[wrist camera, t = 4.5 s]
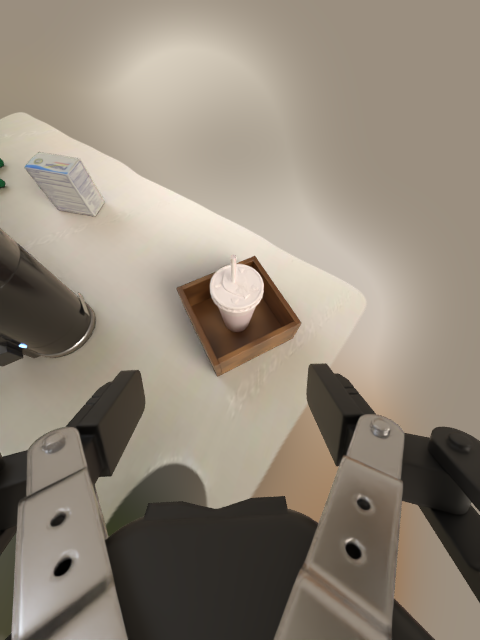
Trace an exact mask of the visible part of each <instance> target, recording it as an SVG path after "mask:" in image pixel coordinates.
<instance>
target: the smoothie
mask: <svg viewBox="0 0 480 640" xmlns="http://www.w3.org/2000/svg"><path fill="white" fill-rule="evenodd" d="M263 293H264V283H263V279H262V277H261V276H260V274H259V273H258V272H257V271H256V270H255V269H253V268H252V267H250V266H247V265H244V264H236V255H231V264H230V265H226V266H224V267H222V268H220V269H219V270H218V271H216V272H215V274H214V275H213V277H212V278H211V281H210V294H211V298H212V300H213V301H214V303H215V304H216V305H217V306H218V308H219V310H220V313H221V315H222V318H223V320H224V323H225V325H226V327H227V328H228V329H229V330H231V331H233V332H241V331H243V330H245V329H246V328H247V326H248V324H249V322H250V319H251V317H252V315H253V312H254V310H255V307H256V306H257V305H258V304H259V302H260V301H261V299H262V297H263Z"/></svg>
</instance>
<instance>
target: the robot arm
mask: <svg viewBox="0 0 480 640" xmlns="http://www.w3.org/2000/svg"><path fill="white" fill-rule="evenodd" d="M78 294H79V297H80V298H79V297H78V296H77V295H76V294H74V293H73V292H72V291H71V290H70V289H69V288H68V287H67V286H65V285H64V284H63V283H62V282H61V281H60V280H59V279H57V278H56V277H55V276H54V275H53V274H52V273H51V272H50V271H48V270H47V269H46V268H45V267H44V266H43V265H42V264H40V263H39V262H38V261H37V260H36V259H35V258H34V257H32V256H31V255H30V254H29V253H28V252H27V251H26V250H25V249H23V248H22V247H21V246H20V245H19V244H18V243H17V242H15V241H14V240H13V239H12V238H11V237H10V236H9V235H7V234H6V233H5V232H4V231H3V230H2V229H1V228H0V366H5V365H7V364H10V363H12V362H15V361H17V360H19V359H22V358H23V354H24V355H27V356H29V357H32V358H37V357H39V356H44V357H48V358H56V357H62V356H65V355H68V354H70V353H72V352H74V351H76V350H77V349H79V348H80V347H81V346H82V345H83V344H84V343H85V342H86V341H87V340H88V339H89V337H90V336H91V334H92V332H93V330H94V327H95V314H94V311H93V310H92V308H91V307H90V306H89V305H88V304H87V303H86V302H84V299H83V296H82V295H81V294H80V293H79V292H78ZM307 401H308V405H309V407H310V410H311V412H312V414H313V416H314V418H315V421H316V423H317V425H318V427H319V429H320V432H321V434H322V436H323V438H324V440H325V443H326V445H327V447H328V449H329V451H330V454H331V456H332V458H333V460H334V462H335V465H336V466H339V468H338V471H337V474H336V477H335V480H334V482H333V485H332V488H331V491H330V493H329V496H328V499H327V502H326V505H325V507H324V510H323V513H322V516H321V518H320V521H319V523H317V522H316V521H314V520H312V519H311V518H310V517H308V516H306V515H304V514H302V513H299V512H297V511H294V510H291V509H287V504H286V499H285V496H280V497H261V498H250V499H247V500H244V501H241V502H238V503H235V504H232V505H229V506H226V507H223V508H219V509H212V508H208V507H203V506H199V505H195V504H191V503H187V502H183V501H182V502H161V503H148V506H147V510H146V513H145V516H144V517H142V518H139V519H137V520H135V521H132V522H130V523H129V524H127V525H125V526H123V527H122V528H120V529H119V530H117V531H116V532H115V533H113V534H112V535H111V536H110V537H108V533H107V529H106V526H105V522H104V518H103V514H102V510H101V506H100V503H99V499H98V495H97V491H96V488H95V483H96V481H97V479H98V477H105V476H112V474H113V472H114V470H115V468H116V466H117V464H118V462H119V460H120V458H121V456H122V454H123V452H124V450H125V448H126V446H127V444H128V442H129V440H130V438H131V436H132V434H133V432H134V430H135V428H136V426H137V424H138V422H139V420H140V418H141V416H142V414H143V412H144V408H145V395H144V389H143V384H142V378H141V373H140V371H139V370H127V371H121V372H120V373H119V374H118V375H117V376H116V377H115V379H114V380H113V381H112V382H108V383H106V384H105V385H103V386H102V387H100V388H99V389H98V390H97V391H96V392H95V393H94V395H93V396H92V398H90V399H89V400H88V401H87V403H86V405H84V406H83V407H82V408H81V410H80V411H79V412H78V413H77V414H76V415H75V416H74V418H73V419H72V420H71V421H70V422H69V423H68V425H67V426H66V427H63V428H59V429H56V430H53V431H50V432H48V433H46V434H45V435H43V436H41V437H40V438H39V439H37V440H36V441H35V442H34V443H33V444H32V445H31V446H30V448H29V449H28V450H27V451H23V452H19V453H15V454H12V455H8V456H4V457H2V455H1V453H0V555H1V554H2V552H3V551H4V549H5V548H6V546H7V545H8V543H9V542H10V540H11V539H12V537H13V536H14V534H15V533H16V531H17V536H16V558H15V578H14V597H13V618H12V633H11V634H10V635H9V636H8V637H7V638H6V639H5V640H435V639H434V638H433V637H432V636H431V635H430V634H429V633H428V632H427V631H426V630H425V629H424V628H423V627H422V626H421V625H420V624H419V623H418V622H417V621H416V620H415V619H414V618H413V617H412V616H411V615H410V614H409V613H408V612H407V611H406V610H405V609H404V608H403V607H402V606H401V605H400V604H399V603H398V602H397V601H396V600H395V599H394V590H395V578H396V565H397V554H398V553H397V552H398V540H399V529H400V516H401V505H402V501H405V502H409V503H412V504H416V505H418V506H419V507H420V509H421V511H422V512H423V513H424V515H425V517H426V519H427V520H428V522H429V523H430V525H431V526H432V528H433V530H434V531H435V533H436V534H437V536H438V538H439V539H440V540H441V542H442V544H443V545H444V547H445V549H446V550H447V552H448V553H449V555H450V556H451V558H452V559H453V561H454V563H455V564H456V566H457V567H458V569H459V571H460V572H461V574H462V575H463V577H464V579H465V580H466V582H467V583H468V585H469V586H470V588H471V590H472V591H473V593H474V594H475V596H476V598H477V599H478V601H479V602H480V515H479V514H478V513H477V512H476V510H475V509H474V508H473V507H472V506H471V502H472V503H473V504H474V505H475V507H476V508H477V509H478V510H479V511H480V441H479V440H477V439H476V438H474V437H473V436H471V435H469V434H467V433H465V432H463V431H460V430H457V429H454V428H450V427H437V428H435V429H434V430H433V431H432V433H431V436H430V438H428V437H423V436H418V435H412V434H407V433H404V432H403V430H402V429H401V428H400V426H399V425H398V424H396V423H395V422H394V421H392V420H390V419H388V418H386V417H384V416H380V415H376V414H375V413H374V411H373V410H372V409H371V408H370V406H369V405H368V404H367V402H366V401H365V400H364V399H363V398H362V396H361V395H360V394H359V393H358V391H357V390H356V389H355V388H354V387H353V385H352V384H351V383H350V382H349V380H348V379H346V378H345V377H343V376H342V375H340V374H334V373H333V372H332V370H331V369H330V368H329V366H328V365H327V364H310V365H309V368H308V380H307Z"/></svg>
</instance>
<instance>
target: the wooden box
mask: <svg viewBox="0 0 480 640" xmlns="http://www.w3.org/2000/svg"><path fill="white" fill-rule="evenodd" d="M236 264H244V265H247V266H250V267H252V268H253V269H255V270H256V271H257V272H258V273H259V274H260V276H261V277H262V279H263V283H264V293H263V297H262V299H261V301H260V302H259V304H258V305H257V306H256V307H255V310H254V312H253V315H252V317H251V319H250V322H249V324H248V326H247V328H246V329H245V330H243V331H241V332H233V331H231V330H229V329H228V328H227V327H226V325H225V323H224V320H223V318H222V315H221V313H220V310H219V308H218V306H217V305H216V304H215V303H214V301H213V300H212V298H211V294H210V281H211V278H212V277H213V275H214V274H215V272H214V273H212V274H209V275H207V276H204V277H202V278H200V279H197V280H195V281H192V282H190V283H187V284H185V285H182V286H180V287H178V288H177V291H178V293H179V296H180V298H181V301H182V303H183V306H184V308H185V310H186V312H187V314H188V316H189V318H190V320H191V323H192V325H193V327H194V329H195V331H196V333H197V335H198V337H199V339H200V341H201V343H202V345H203V348H204V350H205V352H206V354H207V356H208V358H209V360H210V362H211V364H212V366H213V368H214V370H215V372H216V375H217V376H220V375H222V374H224V373H226V372H228V371H229V370H231V369H233V368H235V367H237V366H239V365H241V364H243V363H245V362H247V361H249V360H251V359H253V358H255V357H257V356H259V355H261V354H263V353H265V352H267V351H269V350H271V349H273V348H275V347H277V346H279V345H281V344H283V343H284V342H286V341H288V340H290V339H292V338H293V337H294V335H295V334H296V332H297V330H298V328H299V326H300V325H301V322H300V320H299V319H298V317H297V316H296V314H295V313H294V312H293V310H292V309H291V307H290V306H289V304H288V303H287V301H286V300H285V299H284V297H283V296H282V294H281V293H280V291H279V290H278V288H277V287H276V286H275V284H274V283H273V281H272V280H271V278H270V277H269V275H268V274H267V273H266V271H265V270H264V268H263V267H262V265H261V264H260V263H259V261H258V260H257V258H256V257H255V256H253V257H251V258H248V259H246V260H244V261H241V262H239V263H236Z"/></svg>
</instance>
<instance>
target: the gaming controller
mask: <svg viewBox="0 0 480 640" xmlns="http://www.w3.org/2000/svg"><path fill="white" fill-rule="evenodd" d="M3 165H4V162H3V161H2V160H1V159H0V167H2V166H3ZM0 187H5V182H4V181H3V180H2V179H0Z"/></svg>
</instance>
